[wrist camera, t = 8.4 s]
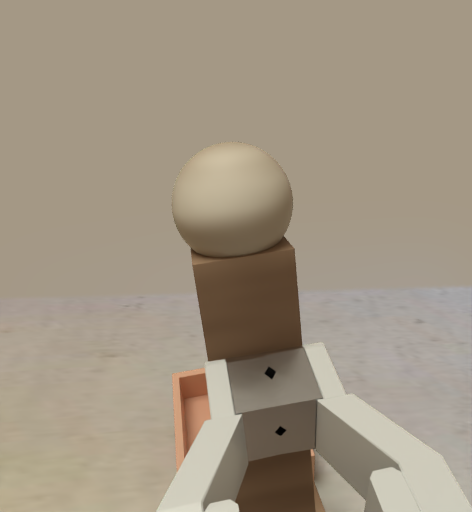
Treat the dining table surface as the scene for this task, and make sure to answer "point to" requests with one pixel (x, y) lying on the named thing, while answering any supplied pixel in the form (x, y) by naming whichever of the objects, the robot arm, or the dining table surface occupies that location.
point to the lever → (246, 288)
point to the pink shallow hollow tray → (192, 410)
